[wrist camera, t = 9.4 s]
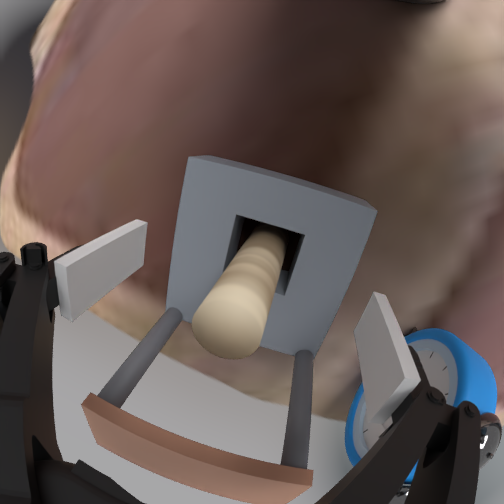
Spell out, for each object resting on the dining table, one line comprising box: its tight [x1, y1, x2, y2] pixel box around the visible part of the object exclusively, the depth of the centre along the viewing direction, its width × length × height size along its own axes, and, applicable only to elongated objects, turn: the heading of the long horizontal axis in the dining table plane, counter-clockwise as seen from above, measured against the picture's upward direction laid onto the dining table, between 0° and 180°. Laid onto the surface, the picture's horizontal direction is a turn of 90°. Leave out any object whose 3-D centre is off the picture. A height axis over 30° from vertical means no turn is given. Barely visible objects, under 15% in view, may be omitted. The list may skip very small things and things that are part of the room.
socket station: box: [81, 155, 378, 504], centre depth 16 cm, size 16×12×15 cm
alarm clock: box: [345, 327, 502, 504], centre depth 16 cm, size 13×6×15 cm, turn 150°
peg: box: [192, 222, 289, 359], centre depth 16 cm, size 3×3×12 cm
